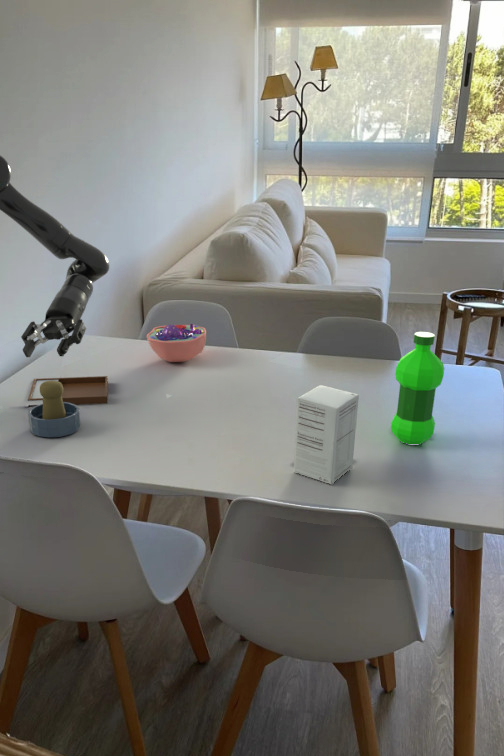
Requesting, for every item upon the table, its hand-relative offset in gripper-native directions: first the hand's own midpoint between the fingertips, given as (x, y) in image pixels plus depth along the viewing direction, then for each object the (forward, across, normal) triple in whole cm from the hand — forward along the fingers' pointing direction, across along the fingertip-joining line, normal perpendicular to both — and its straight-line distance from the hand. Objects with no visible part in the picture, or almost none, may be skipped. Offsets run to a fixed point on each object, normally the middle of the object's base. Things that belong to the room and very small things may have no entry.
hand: (42, 354), depth 159 cm
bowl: (+10, +1, +14) cm, 17 cm away
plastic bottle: (-1, +80, +30) cm, 86 cm away
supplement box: (+17, +63, +20) cm, 69 cm away
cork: (+10, +1, +14) cm, 17 cm away
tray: (-9, -6, +22) cm, 25 cm away
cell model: (-41, +11, +39) cm, 58 cm away
